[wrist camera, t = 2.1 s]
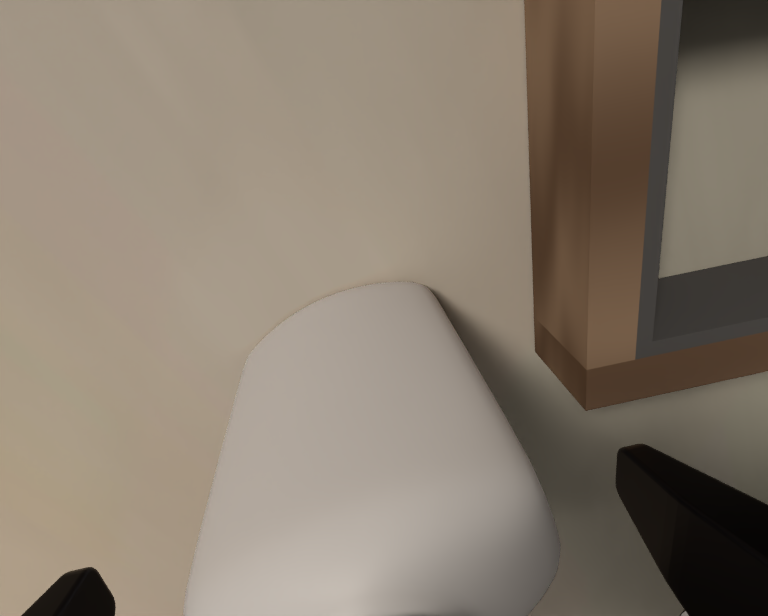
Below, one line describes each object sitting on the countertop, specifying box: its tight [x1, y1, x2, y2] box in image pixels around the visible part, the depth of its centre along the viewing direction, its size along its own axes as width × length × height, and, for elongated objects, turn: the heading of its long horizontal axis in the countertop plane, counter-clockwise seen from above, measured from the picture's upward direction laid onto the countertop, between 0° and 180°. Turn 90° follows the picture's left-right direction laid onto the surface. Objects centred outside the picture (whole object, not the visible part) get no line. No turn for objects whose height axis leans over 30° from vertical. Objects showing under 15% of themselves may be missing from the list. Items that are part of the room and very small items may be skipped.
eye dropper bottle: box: [183, 281, 560, 616], centre depth 8 cm, size 4×6×12 cm
